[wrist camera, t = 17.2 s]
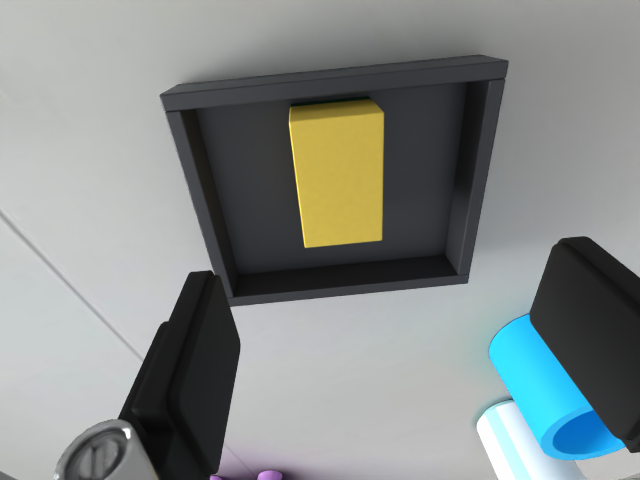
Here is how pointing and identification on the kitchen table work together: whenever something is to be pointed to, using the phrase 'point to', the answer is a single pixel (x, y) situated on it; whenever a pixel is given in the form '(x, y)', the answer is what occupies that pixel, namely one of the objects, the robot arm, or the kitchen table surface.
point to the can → (519, 448)
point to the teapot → (260, 476)
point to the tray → (398, 176)
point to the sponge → (339, 169)
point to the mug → (548, 396)
